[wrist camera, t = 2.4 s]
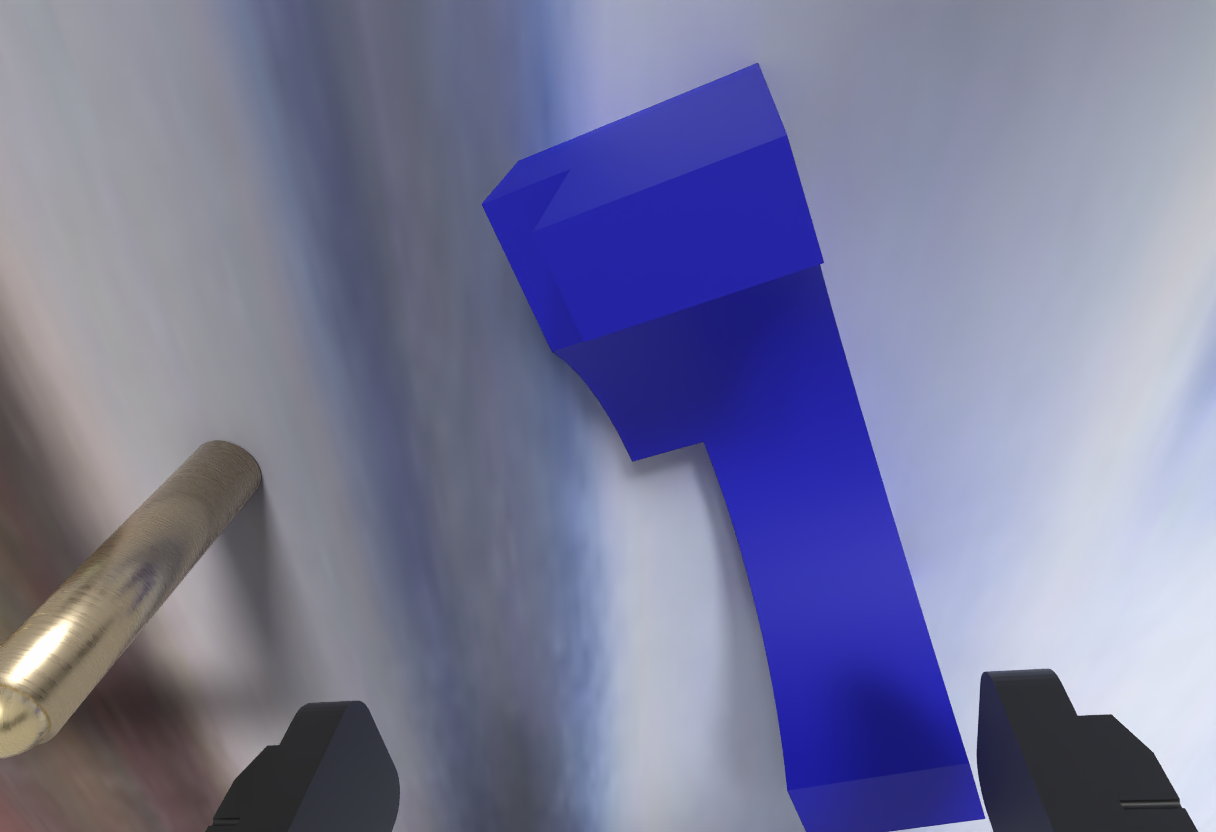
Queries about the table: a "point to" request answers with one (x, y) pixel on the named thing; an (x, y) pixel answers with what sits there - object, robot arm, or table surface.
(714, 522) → the table surface
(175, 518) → the wire track
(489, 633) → the table surface
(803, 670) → the cable clip
